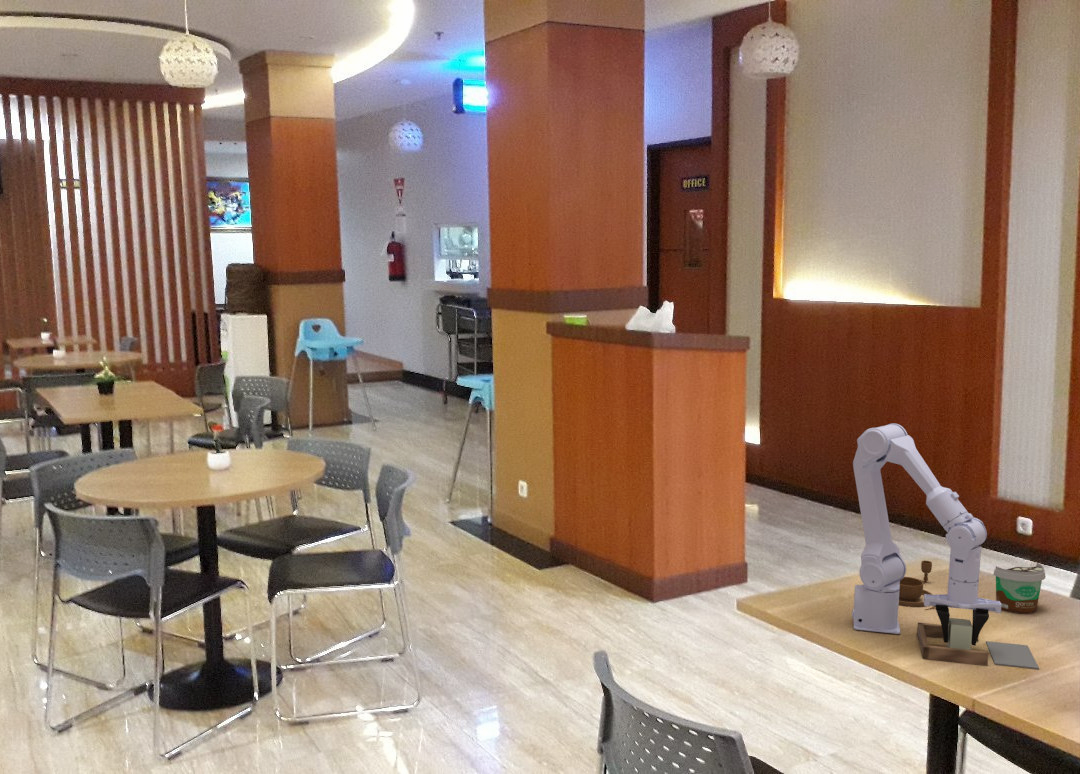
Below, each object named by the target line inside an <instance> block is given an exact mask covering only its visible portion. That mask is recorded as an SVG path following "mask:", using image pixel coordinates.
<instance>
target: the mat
mask: <svg viewBox="0 0 1080 774" xmlns="http://www.w3.org/2000/svg"><path fill="white" fill-rule="evenodd" d="M985 643H986V646H987V649H988V651H989V654H990V656H991V658H992V661H993V664H994V666H995V665H996V666H997V665H998V666H1002V667H1003V666H1006V667H1015V668H1022V669H1033V670H1040V667H1039V665H1038V663H1037V661H1036V659H1035V657H1034V654H1033V653H1032V651H1031V649H1030V647H1029V645H1028V644H1017V643H1010V642H1009V643H1008V642H1000V641H999V642H998V641H989V640H985Z"/></svg>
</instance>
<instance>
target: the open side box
mask: <svg viewBox="0 0 1080 774" xmlns="http://www.w3.org/2000/svg"><path fill="white" fill-rule="evenodd" d="M948 627H949V625H948ZM916 629H917V630H916V634H917V638H918V644H919V648H920V651H921V656H922V659H924V660H932V661H941V662H951V663H952V662H953V663H958V664H959V663H961V664H969V665H977V666H988V664H989V652H988V651H986V650H985V651H984V650H974V649H971V650H967V649H958V648H948V646H938V645H929V642H928V638H927V637H929V638H930V637H931V638H940V639H943V631H942V626H941V624H937V623H926V622H917V628H916ZM979 638H980V637H979V636H978V638H977V642H979ZM977 642H976V643H977Z"/></svg>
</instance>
